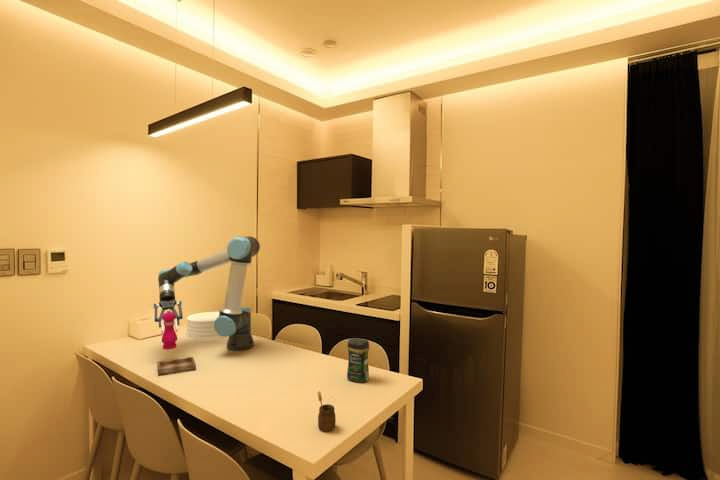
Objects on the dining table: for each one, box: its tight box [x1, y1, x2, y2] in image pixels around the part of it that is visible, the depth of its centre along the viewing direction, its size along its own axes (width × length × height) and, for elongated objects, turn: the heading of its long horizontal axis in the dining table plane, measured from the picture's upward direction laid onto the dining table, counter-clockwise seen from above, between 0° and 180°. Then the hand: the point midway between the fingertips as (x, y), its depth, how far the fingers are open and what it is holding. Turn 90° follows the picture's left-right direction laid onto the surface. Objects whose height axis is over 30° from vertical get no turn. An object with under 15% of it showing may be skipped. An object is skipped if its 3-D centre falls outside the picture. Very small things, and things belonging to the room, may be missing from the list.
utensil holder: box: [317, 390, 336, 432], centre depth 132 cm, size 6×6×12 cm
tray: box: [157, 356, 197, 377], centre depth 187 cm, size 16×12×3 cm
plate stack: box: [186, 311, 223, 340], centre depth 252 cm, size 28×28×12 cm
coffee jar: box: [346, 337, 370, 383], centre depth 175 cm, size 10×8×19 cm
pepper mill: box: [161, 309, 178, 351], centre depth 198 cm, size 7×7×20 cm
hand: (169, 331), depth 195 cm, fingers closed on pepper mill, 6 cm apart
